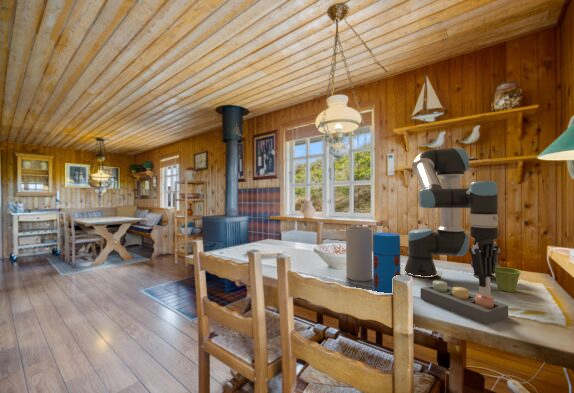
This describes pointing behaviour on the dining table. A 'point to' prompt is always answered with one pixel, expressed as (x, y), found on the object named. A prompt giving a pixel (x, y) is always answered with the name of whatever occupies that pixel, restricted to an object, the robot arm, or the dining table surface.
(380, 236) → the thermos
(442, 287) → the sage button
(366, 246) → the cylinder vase
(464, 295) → the ochre button
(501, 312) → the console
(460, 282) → the dining table surface
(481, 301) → the pink button
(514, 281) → the plant pot
